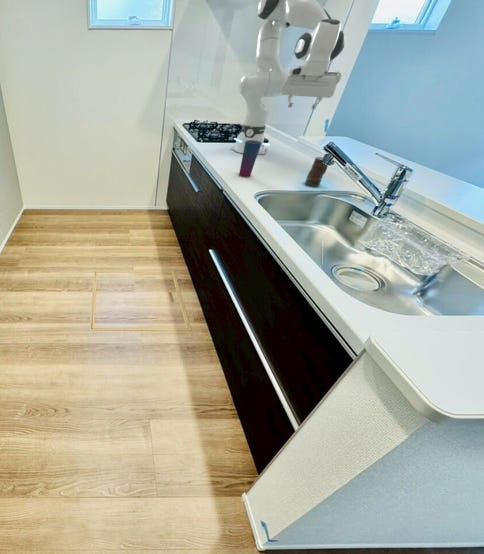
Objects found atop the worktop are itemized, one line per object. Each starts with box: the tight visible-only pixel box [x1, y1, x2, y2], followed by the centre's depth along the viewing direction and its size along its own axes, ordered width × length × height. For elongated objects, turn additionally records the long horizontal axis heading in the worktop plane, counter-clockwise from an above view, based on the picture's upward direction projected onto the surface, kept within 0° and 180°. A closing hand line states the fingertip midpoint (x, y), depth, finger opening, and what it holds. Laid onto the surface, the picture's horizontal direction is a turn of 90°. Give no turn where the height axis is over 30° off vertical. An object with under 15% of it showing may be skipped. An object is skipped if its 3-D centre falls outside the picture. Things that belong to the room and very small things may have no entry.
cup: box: [238, 140, 262, 178], centre depth 137 cm, size 7×7×15 cm
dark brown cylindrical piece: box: [304, 164, 329, 188], centre depth 129 cm, size 6×6×8 cm
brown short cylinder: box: [312, 156, 328, 168], centre depth 125 cm, size 5×5×3 cm
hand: (301, 108), depth 131 cm, fingers open, 8 cm apart
